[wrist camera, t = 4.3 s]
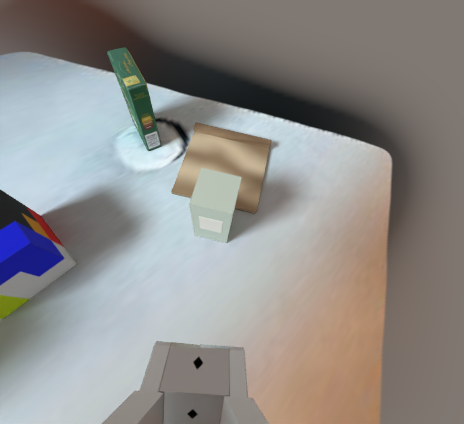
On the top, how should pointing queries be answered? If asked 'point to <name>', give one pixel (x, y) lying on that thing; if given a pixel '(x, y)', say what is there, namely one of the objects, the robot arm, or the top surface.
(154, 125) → the coffee box
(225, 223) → the pale green box
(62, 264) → the puzzle toy
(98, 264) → the top surface
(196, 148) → the board
